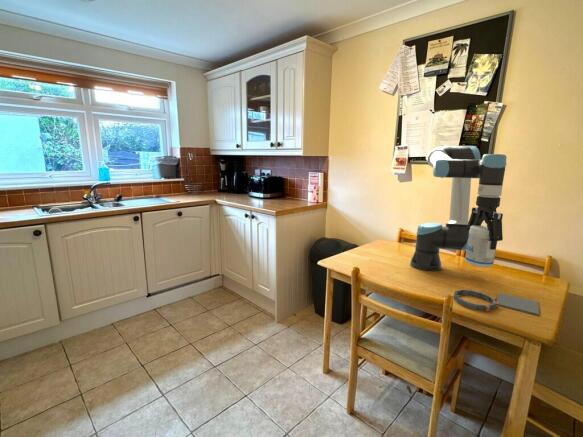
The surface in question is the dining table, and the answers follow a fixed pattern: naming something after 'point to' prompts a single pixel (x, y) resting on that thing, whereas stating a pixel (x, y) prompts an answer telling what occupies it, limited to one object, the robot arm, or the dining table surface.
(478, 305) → the collar
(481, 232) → the supplement tub
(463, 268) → the dining table surface
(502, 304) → the trivet
